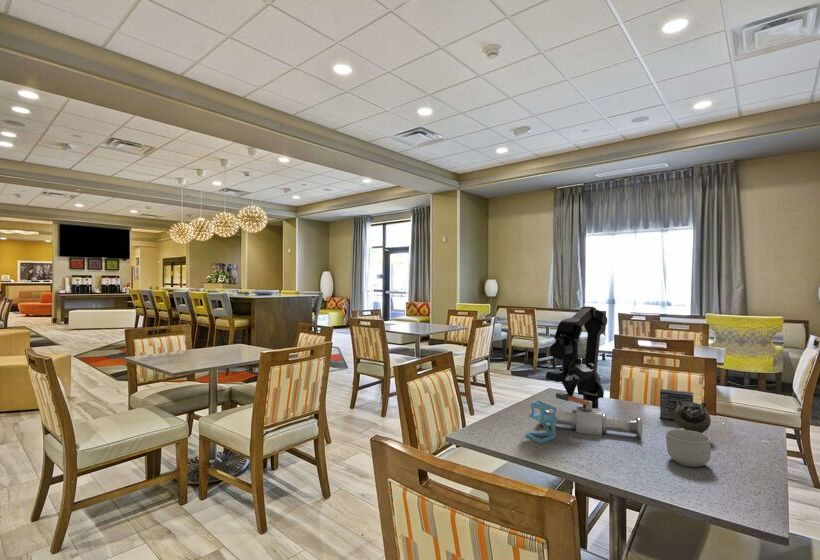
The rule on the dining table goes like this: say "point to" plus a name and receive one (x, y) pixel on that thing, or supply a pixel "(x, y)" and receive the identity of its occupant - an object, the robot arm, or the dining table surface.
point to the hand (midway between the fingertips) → (570, 397)
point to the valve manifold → (596, 422)
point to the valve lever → (574, 399)
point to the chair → (543, 421)
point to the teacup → (688, 447)
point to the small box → (672, 402)
